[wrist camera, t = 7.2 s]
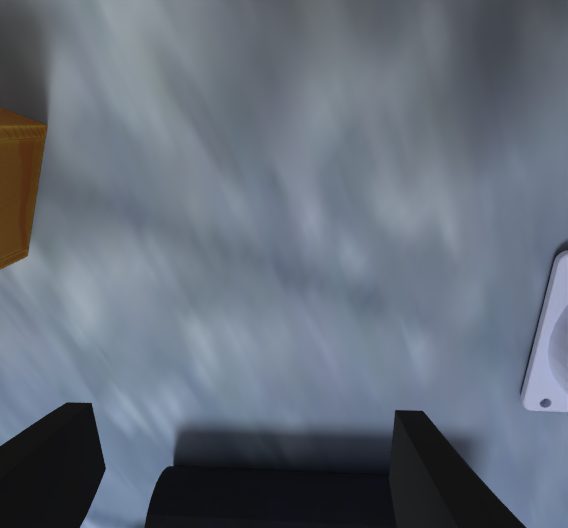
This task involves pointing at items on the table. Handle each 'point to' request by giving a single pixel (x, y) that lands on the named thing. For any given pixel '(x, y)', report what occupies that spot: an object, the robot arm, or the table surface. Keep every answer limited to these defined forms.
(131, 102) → the table surface
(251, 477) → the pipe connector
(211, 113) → the table surface
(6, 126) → the spider toy trap
